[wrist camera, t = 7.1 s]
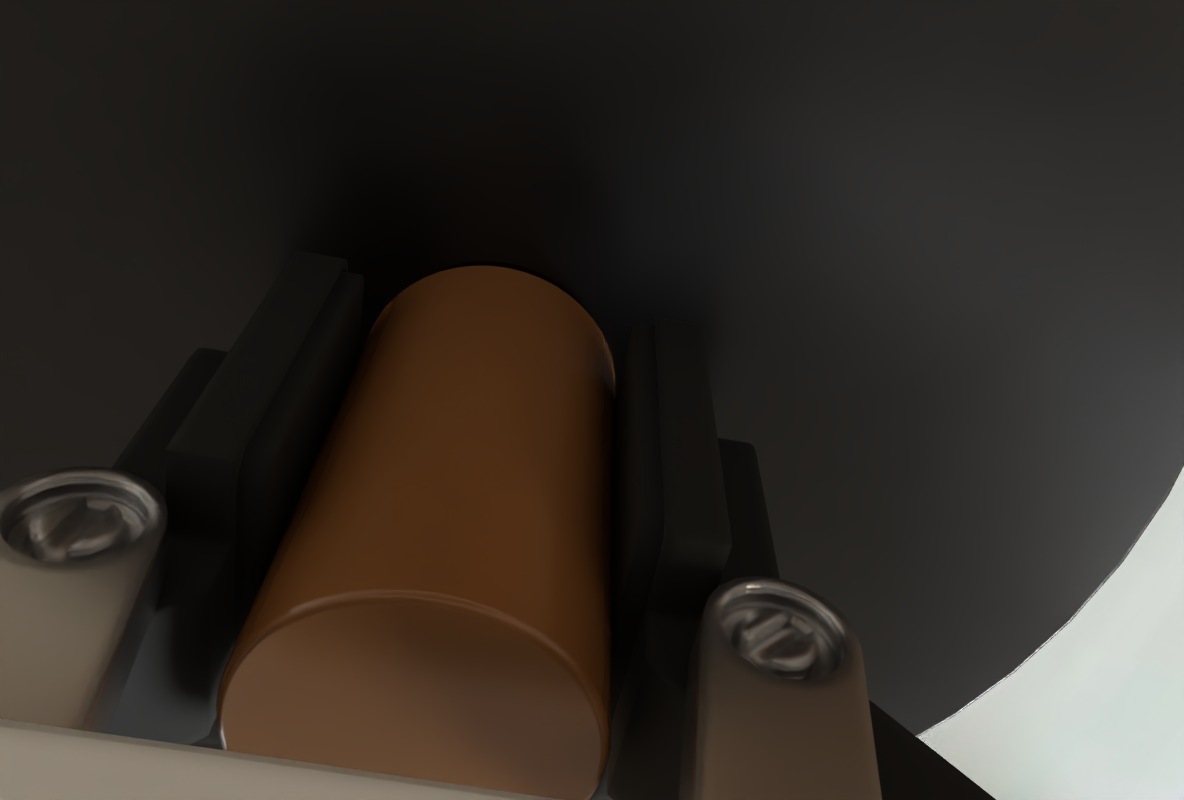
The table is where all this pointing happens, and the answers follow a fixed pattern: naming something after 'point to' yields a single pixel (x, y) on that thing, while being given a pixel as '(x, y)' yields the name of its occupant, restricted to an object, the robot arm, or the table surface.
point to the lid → (615, 321)
